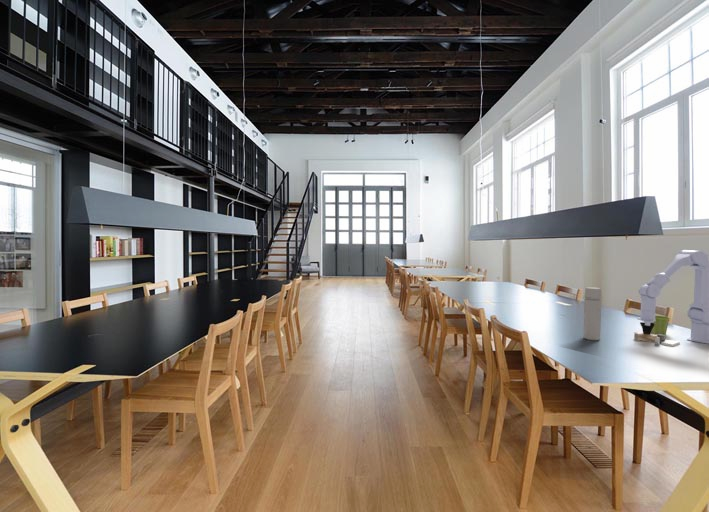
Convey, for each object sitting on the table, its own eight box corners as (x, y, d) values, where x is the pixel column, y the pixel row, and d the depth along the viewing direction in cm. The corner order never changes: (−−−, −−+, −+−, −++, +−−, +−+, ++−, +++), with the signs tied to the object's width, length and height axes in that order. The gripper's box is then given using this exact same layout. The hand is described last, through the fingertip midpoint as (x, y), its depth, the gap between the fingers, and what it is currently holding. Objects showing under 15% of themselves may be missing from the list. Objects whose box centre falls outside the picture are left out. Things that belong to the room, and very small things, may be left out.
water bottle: (603, 341, 186) (605, 289, 185) (585, 340, 188) (587, 288, 186) (595, 336, 195) (597, 286, 194) (578, 335, 197) (580, 286, 195)
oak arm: (664, 342, 185) (664, 334, 185) (665, 343, 183) (665, 336, 182) (634, 338, 191) (634, 331, 191) (634, 339, 189) (634, 332, 189)
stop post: (660, 345, 180) (660, 337, 179) (658, 345, 179) (658, 338, 179) (655, 344, 181) (656, 336, 181) (654, 344, 180) (654, 337, 180)
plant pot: (642, 332, 204) (643, 316, 203) (653, 330, 208) (654, 314, 207) (663, 336, 195) (664, 319, 195) (673, 334, 199) (674, 317, 199)
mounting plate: (679, 344, 182) (679, 341, 182) (672, 346, 177) (672, 344, 177) (668, 341, 185) (668, 339, 185) (661, 344, 181) (661, 342, 181)
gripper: (637, 306, 196) (636, 333, 197) (637, 311, 184) (636, 339, 185) (655, 308, 192) (654, 335, 193) (656, 313, 180) (654, 342, 181)
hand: (646, 337), depth 189 cm, fingers closed, pressing on oak arm
